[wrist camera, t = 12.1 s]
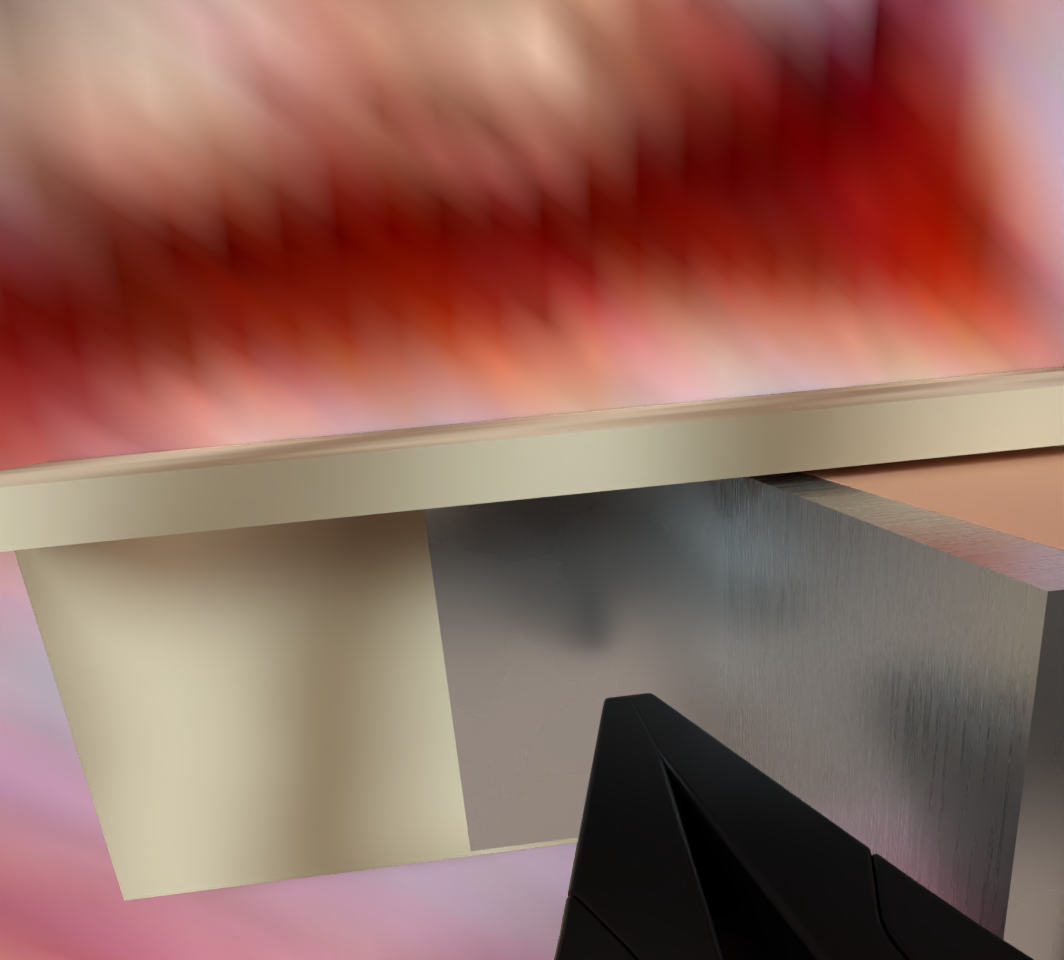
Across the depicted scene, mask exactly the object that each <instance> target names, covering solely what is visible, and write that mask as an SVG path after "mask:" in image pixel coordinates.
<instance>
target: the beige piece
mask: <svg viewBox="0 0 1064 960" xmlns="http://www.w3.org/2000/svg"><path fill="white" fill-rule="evenodd" d="M1048 446H1061V447H1064V367H1056V368H1046V369H1035V370H1024V371H1014V372H1003V373H993V374H982V375H971V376H961V377H950V378H939V379H929V380H918V381H907V382H897V383H886V384H876V385H865V386H854V387H844V388H833V389H822V390H812V391H801V392H790V393H780V394H769V395H759V396H748V397H737V398H727V399H716V400H705V401H695V402H684V403H673V404H663V405H652V406H641V407H631V408H620V409H610V410H599V411H588V412H578V413H567V414H556V415H546V416H535V417H524V418H514V419H503V420H493V421H482V422H471V423H461V424H450V425H439V426H429V427H418V428H407V429H397V430H386V431H376V432H365V433H354V434H344V435H333V436H322V437H312V438H301V439H290V440H280V441H269V442H259V443H248V444H237V445H227V446H216V447H205V448H195V449H184V450H173V451H163V452H152V453H141V454H131V455H120V456H110V457H99V458H88V459H78V460H67V461H56V462H46V463H39V464H33V465H27V466H22V467H16V468H10V469H4V470H0V552H3V551H13V550H14V551H15V554H16V557H17V561H18V564H19V567H20V570H21V573H22V577H23V580H24V583H25V586H26V589H27V592H28V596H29V599H30V602H31V605H32V608H33V612H34V615H35V618H36V621H37V624H38V627H39V631H40V634H41V637H42V640H43V643H44V647H45V650H46V653H47V656H48V659H49V662H50V666H51V669H52V672H53V675H54V678H55V682H56V685H57V688H58V691H59V694H60V698H61V701H62V704H63V707H64V710H65V713H66V717H67V720H68V723H69V726H70V729H71V733H72V736H73V739H74V742H75V745H76V748H77V752H78V755H79V758H80V761H81V764H82V768H83V771H84V774H85V777H86V780H87V783H88V787H89V790H90V793H91V796H92V799H93V803H94V806H95V809H96V812H97V815H98V819H99V822H100V825H101V828H102V831H103V834H104V838H105V841H106V844H107V847H108V850H109V854H110V857H111V860H112V863H113V866H114V869H115V873H116V876H117V879H118V882H119V885H120V889H121V892H122V895H123V898H124V901H125V900H132V899H140V898H148V897H156V896H163V895H171V894H179V893H187V892H195V891H202V890H210V889H218V888H226V887H233V886H241V885H249V884H257V883H265V882H272V881H280V880H288V879H296V878H304V877H311V876H319V875H327V874H335V873H342V872H350V871H358V870H366V869H374V868H381V867H389V866H397V865H405V864H412V863H420V862H428V861H436V860H444V859H451V858H459V857H467V856H475V855H482V854H490V853H498V852H506V851H514V850H521V849H529V848H537V847H545V846H553V845H560V844H568V843H576V842H578V838H571V839H563V840H555V841H547V842H540V843H532V844H524V845H516V846H508V847H501V848H493V849H485V850H477V851H471V850H470V843H469V836H468V829H467V821H466V814H465V807H464V800H463V792H462V785H461V778H460V770H459V763H458V756H457V749H456V741H455V734H454V727H453V720H452V712H451V705H450V698H449V691H448V683H447V676H446V669H445V661H444V654H443V647H442V640H441V632H440V625H439V618H438V611H437V603H436V596H435V589H434V582H433V574H432V567H431V560H430V552H429V545H428V538H427V531H426V523H425V516H424V509H431V508H441V507H451V506H461V505H471V504H481V503H491V502H500V501H510V500H520V499H530V498H540V497H550V496H560V495H570V494H580V493H590V492H600V491H610V490H620V489H630V488H640V487H650V486H660V485H670V484H680V483H690V482H699V481H709V480H719V479H729V478H739V477H749V476H759V475H769V474H779V473H789V472H799V471H809V470H819V469H829V468H839V467H849V466H859V465H869V464H879V463H888V462H898V461H908V460H918V459H928V458H938V457H948V456H958V455H968V454H978V453H988V452H998V451H1008V450H1018V449H1028V448H1038V447H1048Z"/></svg>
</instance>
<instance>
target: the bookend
mask: <svg viewBox="0 0 1064 960" xmlns="http://www.w3.org/2000/svg"><path fill="white" fill-rule="evenodd" d="M424 516H425V523H426V531H427V538H428V545H429V552H430V560H431V567H432V574H433V582H434V589H435V596H436V603H437V611H438V618H439V625H440V632H441V640H442V647H443V654H444V661H445V669H446V676H447V683H448V691H449V698H450V705H451V712H452V720H453V727H454V734H455V741H456V749H457V756H458V763H459V770H460V778H461V785H462V792H463V800H464V807H465V814H466V821H467V829H468V836H469V843H470V850H471V851H477V850H485V849H493V848H501V847H508V846H516V845H524V844H532V843H540V842H547V841H555V840H563V839H571V838H578V837H579V831H580V826H581V821H582V815H583V810H584V805H585V799H586V794H587V789H588V783H589V778H590V773H591V767H592V762H593V756H594V751H595V746H596V740H597V735H598V730H599V724H600V719H601V714H602V708H603V703H604V700H605V699H606V698H610V697H618V696H628V695H635V694H643V693H652V694H654V695H655V696H657V697H658V698H659V699H661V700H662V701H664V702H665V703H666V704H668V705H669V706H671V707H672V708H674V709H675V710H676V711H678V712H679V713H681V714H682V715H683V716H685V717H686V718H688V719H689V720H690V721H692V722H693V723H695V724H696V725H697V726H699V727H700V728H702V729H703V730H704V731H706V732H707V733H709V734H710V735H711V736H713V737H714V738H716V739H717V740H718V741H720V742H721V743H723V744H724V745H725V746H727V747H728V748H730V749H731V750H732V751H734V752H735V753H737V754H738V755H739V756H741V757H742V758H744V759H745V760H746V761H748V762H749V763H751V764H752V765H753V766H755V767H756V768H758V769H759V770H760V771H762V772H763V773H765V774H766V775H768V776H769V777H770V778H772V779H773V780H775V781H776V782H777V783H779V784H780V785H782V786H783V787H784V788H786V789H787V790H789V791H790V792H791V793H793V794H794V795H796V796H797V797H798V798H800V799H801V800H803V801H804V802H805V803H807V804H808V805H810V806H811V807H812V808H814V809H815V810H817V811H818V812H819V813H821V814H822V815H824V816H825V817H826V818H828V819H829V820H831V821H832V822H833V823H835V824H836V825H838V826H839V827H840V828H842V829H843V830H845V831H846V832H847V833H849V834H850V835H852V836H853V837H854V838H856V839H857V840H859V841H860V842H862V843H863V844H864V845H866V846H867V847H868V848H869V849H870V851H871V854H872V855H873V854H879V855H880V856H882V857H883V858H884V859H886V860H887V861H889V862H890V863H891V864H893V865H894V866H896V867H897V868H898V869H900V870H901V871H903V872H904V873H905V874H907V875H908V876H910V877H911V878H912V879H914V880H915V881H917V882H918V883H920V884H921V885H923V886H924V887H926V888H927V889H928V890H930V891H931V892H933V893H934V894H936V895H937V896H939V897H940V898H942V899H943V900H944V901H946V902H947V903H949V904H950V905H952V906H953V907H955V908H956V909H958V910H959V911H960V912H962V913H963V914H965V915H966V916H968V917H969V918H971V919H972V920H974V921H975V922H976V923H978V924H980V925H981V926H983V927H984V928H986V929H987V930H989V931H990V932H992V933H994V934H995V935H997V936H998V937H1000V938H1001V939H1003V940H1004V941H1006V942H1008V943H1009V944H1011V945H1012V946H1014V947H1015V948H1017V949H1018V950H1020V951H1022V952H1023V953H1025V954H1026V955H1028V956H1029V957H1031V958H1032V959H1034V960H1064V550H1062V549H1059V548H1056V547H1052V546H1049V545H1045V544H1042V543H1039V542H1035V541H1032V540H1029V539H1025V538H1022V537H1018V536H1015V535H1012V534H1008V533H1005V532H1002V531H998V530H995V529H991V528H988V527H985V526H981V525H978V524H975V523H971V522H968V521H964V520H961V519H958V518H954V517H951V516H948V515H944V514H941V513H937V512H934V511H931V510H927V509H924V508H921V507H917V506H914V505H910V504H907V503H904V502H900V501H897V500H894V499H890V498H887V497H883V496H880V495H877V494H873V493H870V492H867V491H863V490H860V489H856V488H853V487H850V486H846V485H843V484H840V483H836V482H833V481H829V480H826V479H823V478H819V477H816V476H813V475H809V474H806V473H802V472H789V473H779V474H769V475H759V476H749V477H739V478H729V479H719V480H709V481H699V482H690V483H680V484H670V485H660V486H650V487H640V488H630V489H620V490H610V491H600V492H590V493H580V494H570V495H560V496H550V497H540V498H530V499H520V500H510V501H500V502H491V503H481V504H471V505H461V506H451V507H441V508H431V509H424Z"/></svg>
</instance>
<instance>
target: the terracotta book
mask: <svg viewBox="0 0 1064 960" xmlns="http://www.w3.org/2000/svg"><path fill="white" fill-rule="evenodd" d="M799 472H802V473H806V474H809V475H813V476H816V477H819V478H823V479H826V480H829V481H833V482H836V483H840V484H843V485H846V486H850V487H853V488H856V489H860V490H863V491H867V492H870V493H873V494H877V495H880V496H883V497H887V498H890V499H894V500H897V501H900V502H904V503H907V504H910V505H914V506H917V507H921V508H924V509H927V510H931V511H934V512H937V513H941V514H944V515H948V516H951V517H954V518H958V519H961V520H964V521H968V522H971V523H975V524H978V525H981V526H985V527H988V528H991V529H995V530H998V531H1002V532H1005V533H1008V534H1012V535H1015V536H1018V537H1022V538H1025V539H1029V540H1032V541H1035V542H1039V543H1042V544H1045V545H1049V546H1052V547H1056V548H1059V549H1062V550H1064V447H1061V446H1048V447H1038V448H1028V449H1018V450H1008V451H998V452H988V453H978V454H968V455H958V456H948V457H938V458H928V459H918V460H908V461H898V462H888V463H879V464H869V465H859V466H849V467H839V468H829V469H819V470H809V471H799Z"/></svg>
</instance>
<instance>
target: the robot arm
mask: <svg viewBox="0 0 1064 960" xmlns="http://www.w3.org/2000/svg"><path fill="white" fill-rule="evenodd" d="M554 960H1034V959H1032V958H1031V957H1029V956H1028V955H1026V954H1025V953H1023V952H1022V951H1020V950H1018V949H1017V948H1015V947H1014V946H1012V945H1011V944H1009V943H1008V942H1006V941H1004V940H1003V939H1001V938H1000V937H998V936H997V935H995V934H994V933H992V932H990V931H989V930H987V929H986V928H984V927H983V926H981V925H980V924H978V923H976V922H975V921H974V920H972V919H971V918H969V917H968V916H966V915H965V914H963V913H962V912H960V911H959V910H958V909H956V908H955V907H953V906H952V905H950V904H949V903H947V902H946V901H944V900H943V899H942V898H940V897H939V896H937V895H936V894H934V893H933V892H931V891H930V890H928V889H927V888H926V887H924V886H923V885H921V884H920V883H918V882H917V881H915V880H914V879H912V878H911V877H910V876H908V875H907V874H905V873H904V872H903V871H901V870H900V869H898V868H897V867H896V866H894V865H893V864H891V863H890V862H889V861H887V860H886V859H884V858H883V857H882V856H880V855H879V854H873V855H872V854H871V851H870V849H869V848H868V847H867V846H866V845H864V844H863V843H862V842H860V841H859V840H857V839H856V838H854V837H853V836H852V835H850V834H849V833H847V832H846V831H845V830H843V829H842V828H840V827H839V826H838V825H836V824H835V823H833V822H832V821H831V820H829V819H828V818H826V817H825V816H824V815H822V814H821V813H819V812H818V811H817V810H815V809H814V808H812V807H811V806H810V805H808V804H807V803H805V802H804V801H803V800H801V799H800V798H798V797H797V796H796V795H794V794H793V793H791V792H790V791H789V790H787V789H786V788H784V787H783V786H782V785H780V784H779V783H777V782H776V781H775V780H773V779H772V778H770V777H769V776H768V775H766V774H765V773H763V772H762V771H760V770H759V769H758V768H756V767H755V766H753V765H752V764H751V763H749V762H748V761H746V760H745V759H744V758H742V757H741V756H739V755H738V754H737V753H735V752H734V751H732V750H731V749H730V748H728V747H727V746H725V745H724V744H723V743H721V742H720V741H718V740H717V739H716V738H714V737H713V736H711V735H710V734H709V733H707V732H706V731H704V730H703V729H702V728H700V727H699V726H697V725H696V724H695V723H693V722H692V721H690V720H689V719H688V718H686V717H685V716H683V715H682V714H681V713H679V712H678V711H676V710H675V709H674V708H672V707H671V706H669V705H668V704H666V703H665V702H664V701H662V700H661V699H659V698H658V697H657V696H655V695H654V694H652V693H643V694H635V695H628V696H618V697H610V698H606V699H605V700H604V703H603V708H602V714H601V719H600V724H599V730H598V735H597V740H596V746H595V751H594V756H593V762H592V767H591V773H590V778H589V783H588V789H587V794H586V799H585V805H584V810H583V815H582V821H581V826H580V831H579V837H578V842H577V848H576V853H575V858H574V864H573V869H572V874H571V880H570V885H569V891H568V898H567V900H566V904H565V909H564V915H563V920H562V925H561V931H560V935H559V940H558V944H557V949H556V953H555V958H554Z"/></svg>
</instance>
